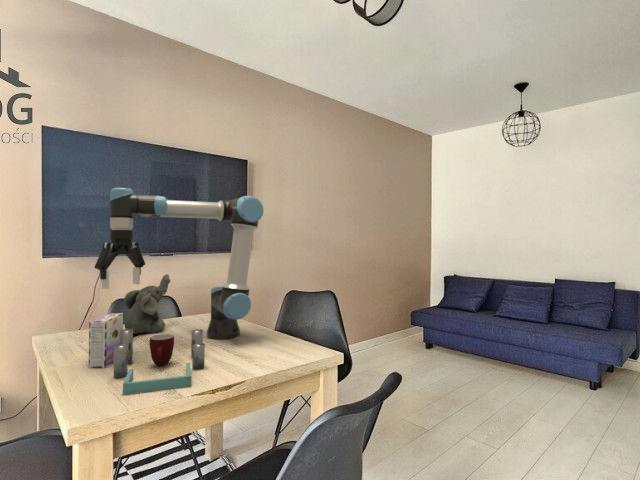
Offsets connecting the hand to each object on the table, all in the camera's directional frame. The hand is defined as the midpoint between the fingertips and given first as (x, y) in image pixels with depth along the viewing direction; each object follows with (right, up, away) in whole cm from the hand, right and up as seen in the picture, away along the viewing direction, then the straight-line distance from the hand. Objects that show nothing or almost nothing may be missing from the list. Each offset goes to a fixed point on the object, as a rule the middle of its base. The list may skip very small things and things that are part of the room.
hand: (121, 286), depth 136 cm
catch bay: (+24, -27, -22) cm, 43 cm away
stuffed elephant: (-11, -28, +41) cm, 50 cm away
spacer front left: (+32, -27, -9) cm, 43 cm away
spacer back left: (+27, -27, +3) cm, 39 cm away
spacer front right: (+10, -27, -18) cm, 34 cm away
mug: (+19, -27, -8) cm, 34 cm away
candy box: (-3, -27, -4) cm, 28 cm away
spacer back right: (+5, -27, -6) cm, 28 cm away
